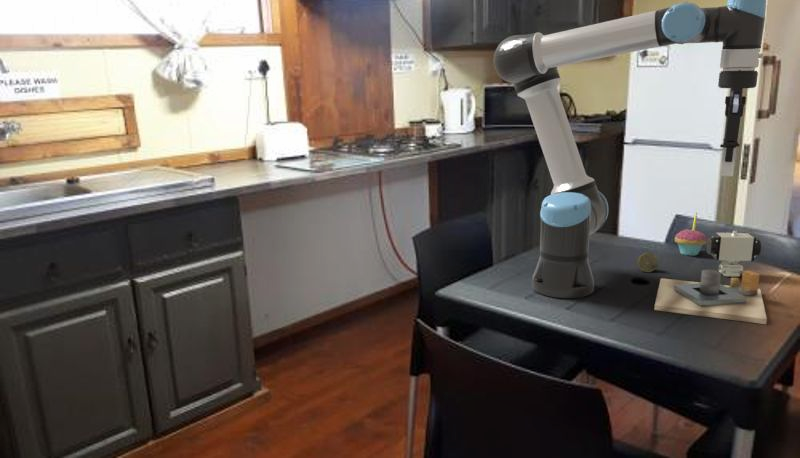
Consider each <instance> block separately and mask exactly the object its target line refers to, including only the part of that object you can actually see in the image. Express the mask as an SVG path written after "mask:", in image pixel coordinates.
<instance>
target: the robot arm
mask: <svg viewBox="0 0 800 458" xmlns="http://www.w3.org/2000/svg"><path fill="white" fill-rule="evenodd" d="M766 8H767V0H727V2H726V4H725V5H724V6H716V7H715V6H714V7H713V6H712V7H700V6H699V5H697V4H696V3H693V2H687V1H685V2H681V3H676V4H674V5H672V6H671V7H666V8H662V9H659V10H652V11H647V12H643V13H639V14H635V15H631V16H626V17H620V18H617V19H616V18H615V19H612V20H607V21H604V22H603V21H602V22H598V23H594V24H589V25H586V26H581V27H575V28H572V29H567V30H563V31H558V32H553V33H550V34H543V33H541V32H534V33H529V34H517V35H511V36H508V37H507V38H505V39H503V40H502V41H501V42H500V43H499V44H498V45H497V47H496V49H495V51H494V53H493V67H494V70H495V73H496V74H497V75H498V76H499V78H500V79H502V80H503V81H505V82H507V83H509V84H510V83H511V84H513V87H514V89H515V93H516V95H517V97H519V98H521V99H523V100H525V103H526V106H527V109H528V112H529V114H530V118H531V122H532V123H533V127H534V130H535V132H536V135H537V139H538V142H539V145H540V148H541V150H542V153H543V156H544V159H545V162H546V165H547V169H548V171H549V174H550V178H551V180H552V183H553V188H552V190H551V192H550V195H547V196H546V197H544V199H543V200H542V202H541V206H540V207H541V208H540V212H539V215H540V216H539V217H540V227H539V228H540V229H539V231H540V235H539V236H540V237H539V238H540V240H539V259H538V262H537V264H536V267H535V269H534V273H533V275H532V278H531V288H532V290H533V291H534V292H536V293H538V294H540V295H543V296H547V297H552V298H560V299H575V298H576V299H577V298H583V297H587V296H589V295H591V294H593V293H594V291H595V280H594V279H595V278H594V276H593V272H592V269H591V265H590V262H589V247H590V236H591V235H593V234H594V233H596V232H597V231H599V230H600V229H601V228H602V227H603V226H604V224H605V222H606V221H607V218H608V215H609V204H608V201H607V198H606V197H605V195H604V194H603V193H601V191H599V190H598V187H597V183H596V180H595V179H594V178H593V177H590V176H589V175H588V174H587V173H586V170H585V167H584V165H583V160H582V158H581V154H580V152H579V149H578V146H577V143H576V140H575V137H574V135H573V134H574V133H573V132H572V131H573V130H572V128H571V125H570V122H569V119H568V117H567V116H568V115H567V113H566V111H565V110H566V109H565V107H564V104H563V101H562V99H561V95H560V93H559V89H558V87H559V84H560V82H561V77H560V73H559V70H558V67H561V66H566V65H567V66H569V65H572V64H577V63H581V62H588V61H592V60H597V59H603V58H607V57H614V56H618V55H623V54H628V53H633V52H638V51H639V52H640V51H643V50H648V49H653V48H659V47H665V46H670V45H675V44H676V45H684V44H703V43H704V44H705V43H706V44H707V43H722V49H721V54H720V55H721V56H720V64H719V67H720V69H722V70H721V71H720V72H719V74H718V75H719V76H718V85H717V86H718V88H719V89H730V91H729V95H728V96H727V95H726V96H725V99H724V100H725V101H724V104H725V109H724V110H725V111H724V116H725V117H726V120H725V129H724V138H723V143H722V144H719V145H720V146H719V147H720V148H722V154H721V161H720V171H719V176H720V177H734V173H735V165H736V164H735V162H736V157H737V147H740V145H741V144H740V143H739V142H738V140H739V132H740V124H741V118H742V117H743V116H744V115H743V114H744V109H745V108H744V106H745V105H746V102H747V101H746V100H747V97H746V96H743V91H744V90H743V89H754V88H756V87H757V84H758V76H759V72H758V70H756V69H757V68H758V67H760V66H759V64H760V59H763V58H764V54H763V53H761V49H762V42H763V36H764V28H765V21H766V11H767V9H766Z"/></svg>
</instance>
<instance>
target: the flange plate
mask: <svg viewBox="0 0 800 458" xmlns="http://www.w3.org/2000/svg"><path fill="white" fill-rule="evenodd" d="M741 275H742V278H741V285H739V287H726V286H724V284H722V283H720V288H719V295H711V296H705V295H703V294H701V293H700V284H701V282H700V283H694V284H680V285H674V290H675V291H677V292H678V293H680V294H682V295H683V296H685V297H687V298H688V299H690V300H692V301H693V302H695V303H696V304H698V305H700V306H709V305H723V304H736V303H747V297H745V296H749V295H757V292H758V289H759V284H760V273H757V272H755V271H752V270H743V273H742V274H741Z"/></svg>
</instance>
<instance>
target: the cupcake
mask: <svg viewBox="0 0 800 458" xmlns="http://www.w3.org/2000/svg"><path fill="white" fill-rule="evenodd" d="M697 214H698V213H697V212H696V213H695V215H694V216H693V217H694V219H693V224H692V229H683V230H681V231H679V232H678V233H675V236H674V243H677V245H678V249H679V254H681V255H683V254H684V256H688V255H689V257H691V256H694V257H695V256H697V255H698V256H699V253H700V251H701V248H702V247H703V246H704V245H707V239H708V237H707V236H706V235H705V233H703V232H702V231H700V230H697V229H696V227H697V226H696V224H697V218H698V215H697Z"/></svg>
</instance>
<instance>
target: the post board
mask: <svg viewBox="0 0 800 458" xmlns="http://www.w3.org/2000/svg"><path fill="white" fill-rule="evenodd" d="M700 275H701V276H700V282H699V281H698V282H697V281H688V280H681V279H670V278H660V280H659V285H658V288H657V293H656V298H655V303H654V311H660V312H668V313H675V314H682V315H690V316H697V317H698V316H699V317H708V318H715V319H722V320H728V321H729V320H730V321H739V322H744V323H751V324H752V323H753V324H761V325H767V321H768V318H767V314H766V309H765V304H764V300H763V296H762V291H761V288H758V292H757V295H749V296H745V297H747V303H736V304H723V305H709V306H700V305H698V304H696V303H695V302H693V301H692V300H690V299H688V298H687V297H685V296H683V295H682V294H680V293H678V292H677V291H675V290H674V285H680V284H694V283H701V284H700V293H701V294H703V295H705V296H711V295H719V288H720V284H721V280H722V279H721V277H722V273H721V272H719V270H717V269H702V270H701V274H700ZM740 279H741V278H739V277H730V285H726V284H725V285H724V284H723V285H724V286H726V287H739V286H740Z"/></svg>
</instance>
